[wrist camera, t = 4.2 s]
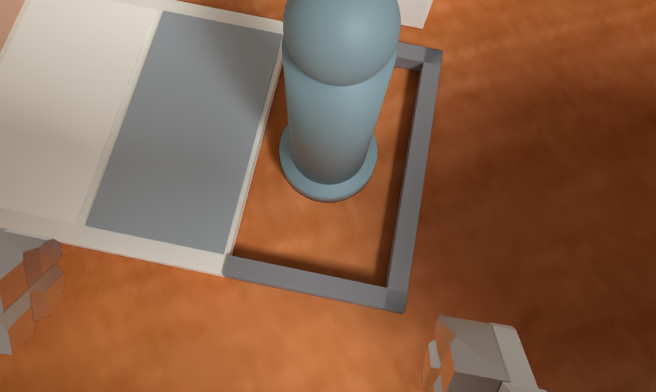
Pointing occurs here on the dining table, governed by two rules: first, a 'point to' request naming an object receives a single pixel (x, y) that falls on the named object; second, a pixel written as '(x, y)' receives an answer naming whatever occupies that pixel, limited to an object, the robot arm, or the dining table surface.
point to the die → (414, 12)
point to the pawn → (335, 92)
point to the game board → (165, 136)
